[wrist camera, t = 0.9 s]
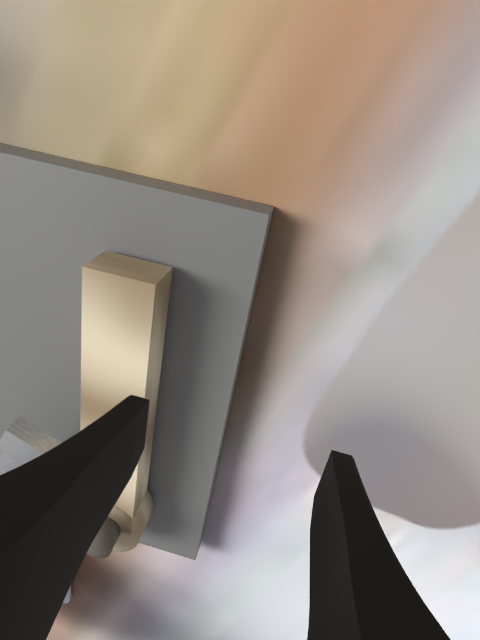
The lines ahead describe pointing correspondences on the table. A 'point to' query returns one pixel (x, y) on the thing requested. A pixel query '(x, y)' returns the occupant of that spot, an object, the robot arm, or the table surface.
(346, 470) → the robot arm
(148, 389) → the link
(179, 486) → the board
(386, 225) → the table surface
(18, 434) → the keeper
